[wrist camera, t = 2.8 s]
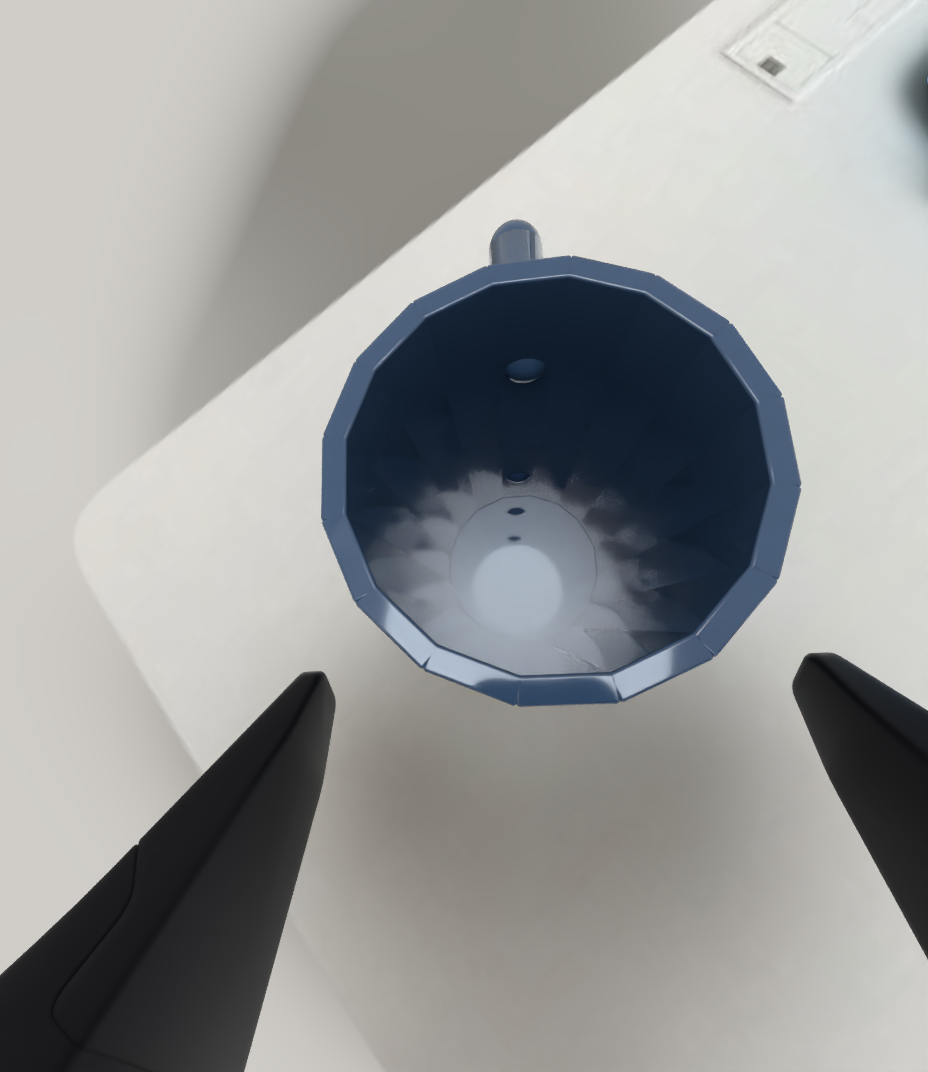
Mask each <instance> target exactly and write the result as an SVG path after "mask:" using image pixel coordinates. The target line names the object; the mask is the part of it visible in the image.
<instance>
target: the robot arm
mask: <svg viewBox="0 0 928 1072" xmlns="http://www.w3.org/2000/svg"><path fill="white" fill-rule="evenodd" d="M792 689H793V694H794V697H795V699H796V702H797V704H798V706H799V709H800V711H801V713H802V716H803V718H804V720H805V723H806V725H807V728H808V730H809V732H810V735H811V737H812V739H813V742H814V744H815V746H816V749H817V751H818V753H819V756H820V758H821V761H822V763H823V765H824V767H825V770H826V772H827V774H828V776H829V778H830V780H831V782H832V784H833V786H834V788H835V790H836V792H837V794H838V796H839V798H840V799H841V801H842V803H843V805H844V807H845V808H846V810H847V812H848V814H849V816H850V818H851V819H852V821H853V823H854V825H855V827H856V829H857V830H858V832H859V834H860V836H861V838H862V840H863V841H864V843H865V845H866V847H867V849H868V851H869V852H870V854H871V856H872V858H873V860H874V862H875V863H876V865H877V867H878V869H879V871H880V873H881V874H882V876H883V878H884V880H885V882H886V884H887V885H888V887H889V889H890V891H891V893H892V895H893V896H894V898H895V900H896V902H897V904H898V906H899V907H900V909H901V911H902V913H903V915H904V917H905V918H906V920H907V922H908V924H909V926H910V928H911V929H912V931H913V933H914V935H915V937H916V939H917V940H918V942H919V944H920V946H921V948H922V950H923V951H924V953H925V955H926V957H927V959H928V711H927V710H926V709H924V708H923V707H921V706H919V705H918V704H916V703H915V702H913V701H911V700H910V699H908V698H907V697H905V696H903V695H902V694H900V693H898V692H897V691H895V690H894V689H892V688H890V687H889V686H887V685H886V684H884V683H882V682H881V681H879V680H878V679H876V678H874V677H873V676H871V675H870V674H868V673H866V672H865V671H863V670H862V669H860V668H858V667H857V666H855V665H853V664H852V663H850V662H849V661H847V660H845V659H844V658H842V657H841V656H839V655H837V654H834V653H810V654H808V655H806V656H805V657H804V659H803V661H802V663H801V665H800V667H799V669H798V671H797V673H796V676H795V678H794V680H793V684H792ZM335 706H336V702H335V696H334V693H333V691H332V689H331V686H330V684H329V681H328V679H327V677H326V675H325V673H323V672H322V671H312V672H304V673H302V674H300V675H299V676H298V677H297V678H296V679H295V680H294V681H293V682H292V683H291V684H290V685H289V686H288V687H287V688H286V689H285V690H284V692H283V693H282V694H281V695H280V696H279V697H278V698H277V699H276V700H275V701H274V702H273V703H272V704H271V705H270V706H269V707H268V708H267V709H266V710H265V711H264V712H263V713H262V714H261V715H260V716H259V717H258V718H257V719H256V720H255V721H254V722H253V724H252V725H251V726H250V727H249V728H248V729H247V730H246V731H245V732H244V733H243V734H242V735H241V736H240V737H239V738H238V739H237V740H236V741H235V742H234V743H233V744H232V745H231V746H230V747H229V748H228V749H227V750H226V751H225V752H224V753H223V755H222V756H221V757H220V758H219V759H218V760H217V761H216V762H215V763H214V764H213V765H212V766H211V767H210V768H209V769H208V770H207V771H206V772H205V773H204V774H203V775H202V776H201V777H200V778H199V779H198V780H197V782H195V783H194V784H193V785H192V787H191V788H190V789H189V790H188V791H187V792H186V793H185V794H184V795H183V796H182V797H181V798H180V799H179V800H178V801H177V802H176V803H175V804H174V805H173V806H172V807H171V808H170V809H169V810H168V811H167V813H165V814H164V816H162V818H161V819H160V820H159V821H158V822H157V823H156V824H155V825H154V826H153V827H152V828H151V829H150V830H149V831H148V832H147V833H146V834H145V835H144V836H143V837H142V838H141V839H140V841H139V844H138V845H134V846H133V847H132V848H131V849H130V850H129V851H128V852H127V853H126V854H125V855H124V857H123V858H122V859H121V860H120V861H119V862H118V863H117V864H116V865H115V866H114V867H113V868H112V869H111V870H110V871H109V872H108V873H107V874H106V875H105V876H104V877H103V878H102V879H101V880H100V881H99V882H98V883H97V884H96V885H95V886H94V887H93V888H92V889H91V890H90V891H89V892H88V893H87V894H86V895H85V896H84V897H83V898H82V899H81V900H80V901H79V902H78V903H77V904H76V905H75V906H74V907H73V908H72V909H71V910H70V911H68V912H67V913H66V914H65V915H64V916H63V917H62V918H61V919H60V920H59V921H58V922H57V923H56V924H55V925H54V926H53V927H52V928H50V929H49V930H48V931H47V932H46V933H45V934H44V935H43V936H42V937H41V938H40V939H39V940H38V941H37V942H36V943H35V944H34V945H32V946H31V947H30V948H29V949H28V950H27V951H26V952H25V953H24V954H23V955H22V956H21V957H20V958H18V959H17V960H16V961H15V962H14V963H13V964H12V965H11V966H10V967H9V968H7V969H6V970H5V971H4V972H3V973H2V974H1V975H0V1072H244V1070H245V1066H246V1062H247V1059H248V1055H249V1052H250V1048H251V1045H252V1041H253V1037H254V1034H255V1030H256V1026H257V1023H258V1019H259V1015H260V1011H261V1008H262V1004H263V1001H264V997H265V993H266V990H267V986H268V982H269V979H270V975H271V972H272V968H273V964H274V961H275V957H276V953H277V949H278V946H279V942H280V938H281V935H282V932H283V928H284V924H285V920H286V917H287V913H288V910H289V906H290V902H291V899H292V895H293V891H294V888H295V884H296V881H297V877H298V873H299V870H300V866H301V862H302V859H303V855H304V851H305V848H306V844H307V840H308V837H309V833H310V830H311V826H312V822H313V819H314V815H315V811H316V808H317V804H318V800H319V796H320V792H321V788H322V784H323V779H324V773H325V768H326V762H327V756H328V750H329V744H330V737H331V731H332V725H333V719H334V713H335Z"/></svg>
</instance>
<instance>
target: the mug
mask: <svg viewBox="0 0 928 1072" xmlns="http://www.w3.org/2000/svg"><path fill="white" fill-rule="evenodd" d="M489 262H490V265H489V266H488V267H486V266H485V267H482V268H480V269H478V270H476V271H474V272H472V273H470V274H468V275H466V276H464V277H462V278H460V279H458V280H456V281H454V282H452V283H450V284H447V285H445V286H443V287H441V288H439V289H437V290H435V291H433V292H431V293H429V294H427V295H425V296H423V297H421V298H419V299H417V300H415V301H414V302H413V303H411V304H409V305H408V306H407V307H406V309H405V310H404V311H403V312H402V313H401V314H400V315H399V316H398V317H397V318H396V319H395V320H394V321H393V322H392V323H391V324H390V325H389V326H388V327H387V328H386V329H385V330H384V331H383V332H382V333H381V334H380V335H379V336H378V337H377V338H376V339H375V340H374V341H373V342H372V344H371V345H370V346H369V347H368V348H367V349H366V350H365V351H364V352H363V353H362V354H361V355H360V356H359V357H358V358H357V359H356V362H354V364H353V366H352V369H351V371H350V373H349V376H348V378H347V380H346V383H345V385H344V387H343V390H342V392H341V394H340V397H339V399H338V401H337V404H336V406H335V408H334V411H333V413H332V415H331V418H330V420H329V422H328V425H327V427H326V429H325V432H324V437H323V442H322V505H321V519H322V521H323V522H322V524H323V527H324V529H325V532H326V534H327V537H328V539H329V542H330V544H331V547H332V549H333V551H334V554H335V556H336V559H337V561H338V564H339V566H340V569H341V571H342V574H343V576H344V578H345V581H346V583H347V586H348V588H349V591H350V593H351V596H352V598H353V601H354V602H357V603H356V604H357V606H358V607H359V608H360V609H361V610H362V611H363V612H364V613H365V614H366V615H367V616H368V617H369V618H370V619H371V620H372V621H373V622H374V623H375V624H376V625H377V626H378V627H379V628H380V629H381V630H382V631H383V632H384V633H385V634H386V635H387V636H388V637H389V638H390V639H391V640H392V641H393V642H394V643H395V644H396V645H397V646H398V647H399V648H400V649H401V650H402V651H403V652H404V653H405V654H406V655H407V656H408V657H409V658H410V659H411V660H412V661H413V662H414V663H415V664H417V665H418V666H419V667H420V668H422V669H423V668H424V670H425V671H426V672H428V673H431V674H433V675H436V676H438V677H441V678H444V679H446V680H449V681H451V682H454V683H456V684H459V685H461V686H464V687H467V688H469V689H472V690H474V691H477V692H479V693H482V694H484V695H487V696H490V697H492V698H495V699H497V700H500V701H502V702H505V703H507V704H510V705H512V706H513V705H516V704H517V706H519V707H531V706H562V705H594V704H617V703H619V701H620V702H625V701H627V700H629V699H631V698H633V697H635V696H637V695H639V694H642V693H644V692H646V691H648V690H650V689H652V688H654V687H656V686H658V685H660V684H662V683H664V682H667V681H669V680H671V679H673V678H675V677H677V676H679V675H681V674H683V673H685V672H687V671H689V670H692V669H694V668H696V667H698V666H700V665H702V664H704V663H706V662H708V661H710V660H712V658H713V657H715V656H717V655H718V654H719V652H720V651H721V650H722V649H723V648H724V646H725V645H726V644H727V643H728V641H729V640H730V639H731V638H732V637H733V635H734V634H735V633H736V632H737V631H738V629H739V628H740V627H741V626H742V624H743V623H744V622H745V621H746V620H747V618H748V617H749V616H750V615H751V614H752V612H753V611H754V610H755V609H756V608H757V606H758V605H759V604H760V603H761V601H762V600H763V599H764V598H765V597H766V595H767V594H768V593H769V592H770V591H771V589H772V588H773V587H774V586H775V584H776V583H777V580H778V578H779V577H780V573H781V569H782V565H783V561H784V557H785V553H786V549H787V545H788V541H789V537H790V533H791V529H792V525H793V521H794V516H795V512H796V508H797V504H798V500H799V496H800V492H801V488H800V486H801V480H800V475H799V470H798V465H797V460H796V455H795V451H794V446H793V441H792V436H791V431H790V426H789V421H788V416H787V411H786V406H785V401H784V398H783V397H781V396H782V394H781V392H780V390H779V389H778V388H777V386H776V385H775V383H774V382H773V381H772V379H771V378H770V376H769V375H768V374H767V372H766V371H765V369H764V368H763V366H762V365H761V364H760V362H759V361H758V359H757V358H756V357H755V355H754V354H753V352H752V351H751V350H750V348H749V347H748V345H747V344H746V343H745V341H744V340H743V338H742V337H741V336H740V334H739V333H738V331H737V330H736V328H735V327H734V326H733V324H729V321H728V320H727V319H725V318H724V317H722V316H721V315H719V314H718V313H716V312H715V311H713V310H711V309H710V308H708V307H707V306H705V305H704V304H702V303H701V302H699V301H697V300H696V299H694V298H693V297H691V296H690V295H688V294H687V293H685V292H683V291H682V290H680V289H679V288H677V287H676V286H674V285H673V284H671V283H669V282H668V281H666V280H665V279H663V278H662V277H660V276H658V275H657V276H655V274H653V273H649V272H645V271H640V270H636V269H631V268H627V267H622V266H618V265H613V264H609V263H604V262H600V261H595V260H591V259H586V258H582V257H577V256H572V257H571V256H561V257H552V258H544V259H543V252H542V243H541V239H540V236H539V234H538V232H537V230H536V229H535V228H534V226H532V225H531V224H530V223H528V222H526V221H524V220H518V219H517V220H510V221H508V222H506V223H504V224H503V225H501V226H500V227H499V228H498V229H497V231H496V232H495V233H494V235H493V237H492V240H491V243H490V248H489Z"/></svg>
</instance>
